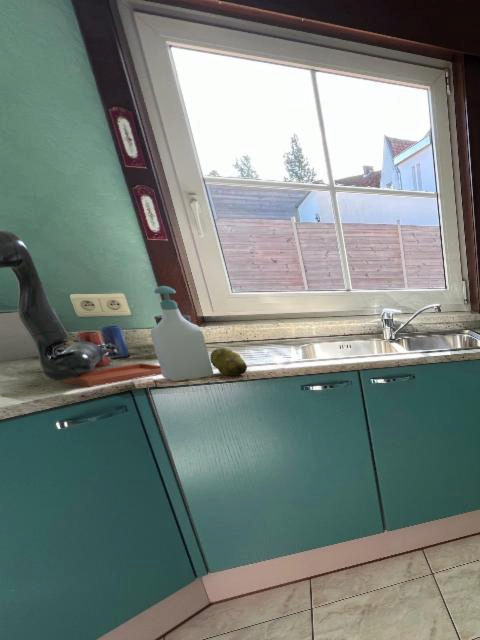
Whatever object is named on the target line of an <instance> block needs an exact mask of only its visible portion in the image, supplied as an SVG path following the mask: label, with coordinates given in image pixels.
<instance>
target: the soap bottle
mask: <svg viewBox="0 0 480 640" xmlns="http://www.w3.org/2000/svg"><path fill="white" fill-rule="evenodd" d="M176 293H177V291H176V290H175V289H174V288H172V287H170V286H167V285H162V286H161V285H159V286H158V287H156V288H155V289H154V294H158V295H159V294H161V295H163V298H164V299H163V300H160V301H161V302H159V304H160V308H161V315H162V320H161V321H160V322H159V323H158V325H157V324H156V325H155V326H154V327H152V328H151V329H150V337H151V338H150V339H151V341H152V345H153V348H154V351H155V354H156V358H157V361H158V364H159V366H160V368H161V371H162V374H161V375H162V377H163V378H164V379H167V380H170V381H173V382H178V381H184V380H192V379H197V378H205V377H213V376H214V370H213V365H212V363H211V360H210V355H209V351H208V348H207V344H206V340H205V336H204V333H203V332H202V329H201V328H200V326H199V325H197V324H195V323H192V322H191V323H190V322H189V321H187V320H186V319H185V318H183V317H182V316H181V315H182V313H181V311H180V309H179V307H178V306H179V305H178V303H177V301H175V300H174V299H170V295H169V294H176Z"/></svg>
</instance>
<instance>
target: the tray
mask: <svg viewBox="0 0 480 640" xmlns="http://www.w3.org/2000/svg"><path fill="white" fill-rule="evenodd" d="M159 373H162V371H161V368H160V365H158V364H150V363H144V362H141V363H140V362H139V363H133V364H127V365H120V366H115V367H109V368H103V369H101V368H100V369H95V371H94V372H93V373H91V374H88V375H84V376H80V377H75V378H71V379H66V380H62V381H59V382H60V383H64V384H71V385H76V386H82V387H88V386H92V387H94V386H93V385H98V386H100V385H99V384H103V385H107V384H106V383H109V384H113V383H112V382H114V383H119V382H118V381H120V382H125V381H129V379H131V380H134V379H133V378H136V379H138V378H137V377H142V376H147V377H149V376H148V375H153V374H158V375H160V374H159ZM153 376H154V375H153ZM142 378H143V377H142ZM124 380H125V381H124Z"/></svg>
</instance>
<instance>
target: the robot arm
mask: <svg viewBox="0 0 480 640" xmlns="http://www.w3.org/2000/svg"><path fill="white" fill-rule="evenodd" d="M1 268H2V269H4V268H5V269H6V268H9V269H10V270H11V272H12V273H13V275H14V277H15V279H16V281H17V285H18V299H17V300H18V301H17V313H18V318H19V319H20V321H21V324H22V325H23V326H24V329H25V330H26V331H27V333H28V334H29V336H30V337H31V339H32V342H33V343H34V346H35V348H36V351H37V355H38V360H39V365H40V366H39V367H40V369H41V371H42V373H43V374H44V375H45V376H46V377H47V378H49V379H50V380H53V381H56V382H57V381H58V382H60V381H62V380H66V379H71V378H75V377H80V376H84V375H88V374H91V373H93V372H94V371H95V370H96V367H95V365H96V364H97V363H98V362H100V361H101V359H102V357H103V355H107V356H109V354H108V353H110V352H111V354H114V355H117V354H118V353H119V352H120V349H119V346H118V344H114V345H113V344H111V343H108V344H106V345H105V343H103V344H98V345H95V344H93V343H90V342H86V341H80V342H76V343H74V344H72V345H70V346H69V345H68V346H65V345H64V346H65V347H64V346H63V347H60V348H58V349H57V350H56V351H55V352H56V354H57V355H54V348H55V347H56V346H58V345H61V344H64V343H66V342H68V341H70V335H69V333H68V332H67V330H66V328H65V327H64V325H63V324H62V322H61V320H60V319H59V317H58V316H57V314H56V312H55V311H54V309H53V307H52V305H51V302H50V300H49V298H48V296H47V293H46V291H45V288H44V285H43V283H42V280H41V276H40V275H39V272H38V270H37V267H36V264H35V262H34V259H33V257H32V254H31V253H30V250H29V248H28V246H27V245H26V244H25V242H24V241H23V240H22V238H21V237H20V236H19V235H17V234H16V233H14V232H12V231H10V230H6V229H0V269H1ZM106 347H107V348H106Z"/></svg>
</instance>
